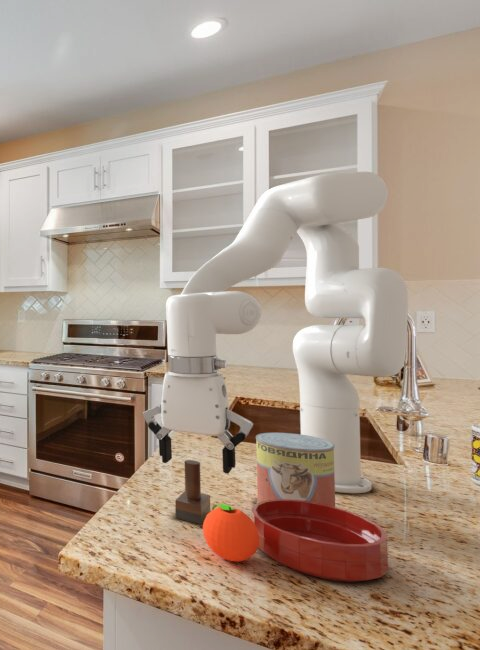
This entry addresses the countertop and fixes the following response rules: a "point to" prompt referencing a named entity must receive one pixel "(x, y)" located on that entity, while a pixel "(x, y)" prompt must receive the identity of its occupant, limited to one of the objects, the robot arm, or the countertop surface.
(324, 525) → the bowl
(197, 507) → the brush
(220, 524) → the clementine
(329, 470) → the canned food
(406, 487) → the countertop surface
